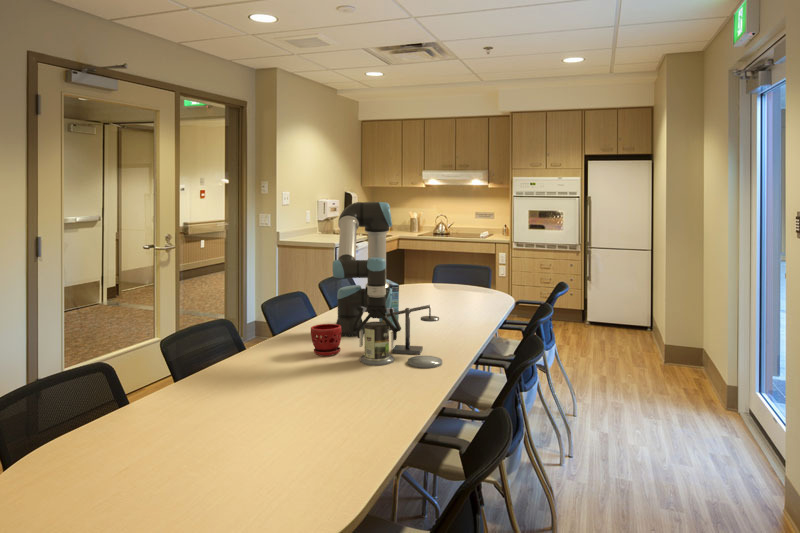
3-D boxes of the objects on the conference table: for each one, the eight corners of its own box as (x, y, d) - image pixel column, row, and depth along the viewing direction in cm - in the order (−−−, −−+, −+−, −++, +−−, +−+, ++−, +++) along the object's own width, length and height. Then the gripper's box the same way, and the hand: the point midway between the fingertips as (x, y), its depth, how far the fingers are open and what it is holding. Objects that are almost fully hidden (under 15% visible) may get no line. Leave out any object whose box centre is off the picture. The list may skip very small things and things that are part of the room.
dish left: (356, 364, 235) (356, 361, 235) (364, 355, 249) (364, 352, 249) (390, 366, 233) (390, 363, 233) (396, 356, 246) (396, 353, 246)
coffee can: (391, 354, 245) (391, 321, 243) (386, 361, 235) (386, 327, 233) (367, 353, 247) (367, 320, 245) (361, 360, 237) (361, 326, 235)
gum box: (379, 321, 314) (378, 279, 311) (388, 321, 315) (388, 279, 312) (389, 329, 295) (389, 285, 293) (399, 329, 297) (399, 284, 294)
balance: (374, 352, 253) (374, 304, 251) (379, 347, 261) (378, 301, 259) (437, 355, 248) (438, 306, 246) (440, 350, 256) (440, 303, 253)
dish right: (405, 367, 232) (405, 364, 232) (410, 357, 245) (410, 354, 245) (440, 369, 229) (440, 366, 229) (444, 359, 243) (444, 356, 243)
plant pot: (345, 350, 257) (345, 323, 256) (335, 358, 244) (335, 330, 243) (317, 348, 260) (317, 322, 259) (306, 356, 247) (305, 328, 246)
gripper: (344, 296, 236) (345, 347, 239) (404, 298, 232) (404, 350, 234) (349, 293, 244) (350, 343, 246) (408, 295, 239) (408, 345, 242)
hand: (376, 346), depth 240 cm, fingers open, 13 cm apart
